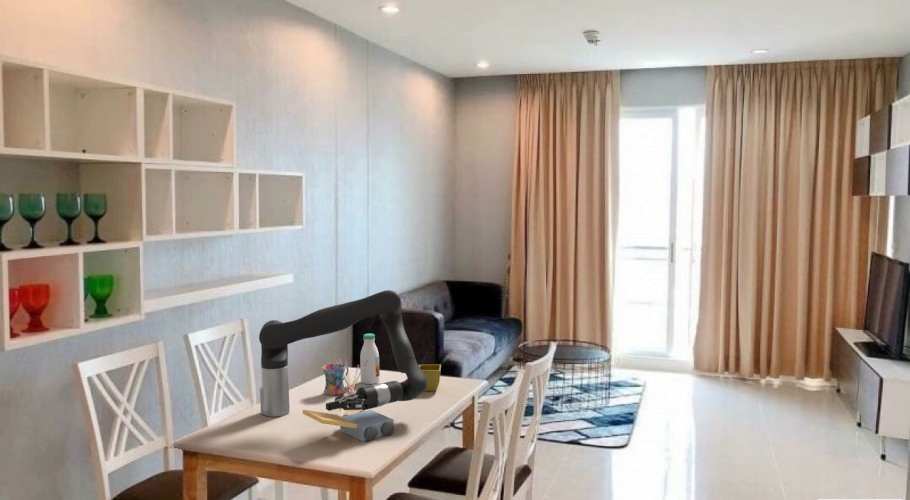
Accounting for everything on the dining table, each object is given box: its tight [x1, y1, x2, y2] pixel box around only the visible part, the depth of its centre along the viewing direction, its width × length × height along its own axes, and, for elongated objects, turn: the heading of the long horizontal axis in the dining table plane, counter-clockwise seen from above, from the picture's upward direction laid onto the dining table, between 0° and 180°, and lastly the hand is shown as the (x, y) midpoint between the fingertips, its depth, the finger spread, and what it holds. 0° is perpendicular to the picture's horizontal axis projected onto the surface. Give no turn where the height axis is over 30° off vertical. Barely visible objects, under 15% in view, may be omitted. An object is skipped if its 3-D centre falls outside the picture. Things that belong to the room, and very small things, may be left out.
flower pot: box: [418, 364, 442, 392], centre depth 286 cm, size 9×9×9 cm
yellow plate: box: [301, 409, 361, 429], centre depth 231 cm, size 2×15×14 cm
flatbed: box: [339, 409, 395, 442], centre depth 239 cm, size 12×16×4 cm
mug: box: [321, 363, 349, 396], centre depth 284 cm, size 12×9×11 cm
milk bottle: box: [359, 333, 381, 385], centre depth 297 cm, size 8×8×20 cm
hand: (327, 407), depth 229 cm, fingers closed
